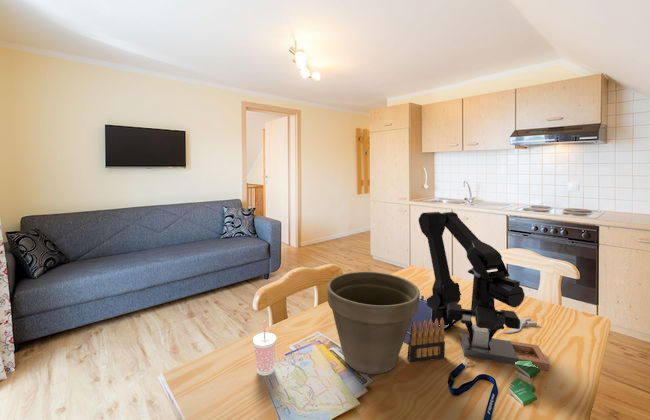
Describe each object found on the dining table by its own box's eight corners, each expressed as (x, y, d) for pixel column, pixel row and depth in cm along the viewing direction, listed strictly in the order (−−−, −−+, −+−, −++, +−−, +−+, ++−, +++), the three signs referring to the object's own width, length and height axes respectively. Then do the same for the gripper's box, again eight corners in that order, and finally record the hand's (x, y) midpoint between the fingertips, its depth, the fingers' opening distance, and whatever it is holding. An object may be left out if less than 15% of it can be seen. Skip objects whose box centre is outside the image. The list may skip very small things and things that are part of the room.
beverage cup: (256, 362, 86) (255, 315, 84) (278, 362, 86) (277, 315, 84) (251, 377, 80) (249, 326, 78) (274, 377, 80) (273, 327, 78)
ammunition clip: (441, 354, 90) (443, 315, 89) (444, 358, 89) (447, 318, 87) (407, 358, 88) (408, 319, 86) (410, 362, 86) (412, 322, 85)
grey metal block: (472, 352, 91) (473, 330, 90) (470, 345, 95) (471, 323, 94) (487, 355, 90) (489, 332, 89) (484, 347, 94) (486, 325, 93)
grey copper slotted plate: (463, 356, 90) (464, 349, 89) (460, 339, 98) (460, 333, 98) (548, 370, 83) (549, 363, 83) (537, 351, 92) (537, 345, 92)
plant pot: (395, 331, 103) (397, 268, 100) (433, 382, 79) (438, 301, 75) (320, 337, 99) (320, 272, 95) (336, 394, 74) (337, 309, 71)
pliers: (484, 315, 111) (522, 313, 113) (484, 319, 111) (522, 317, 113) (503, 330, 101) (545, 327, 103) (503, 334, 102) (544, 331, 104)
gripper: (451, 299, 85) (447, 351, 87) (529, 309, 79) (523, 365, 82) (448, 284, 95) (444, 331, 98) (517, 292, 90) (511, 342, 92)
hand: (479, 342), depth 92 cm, fingers closed on grey metal block, 4 cm apart
